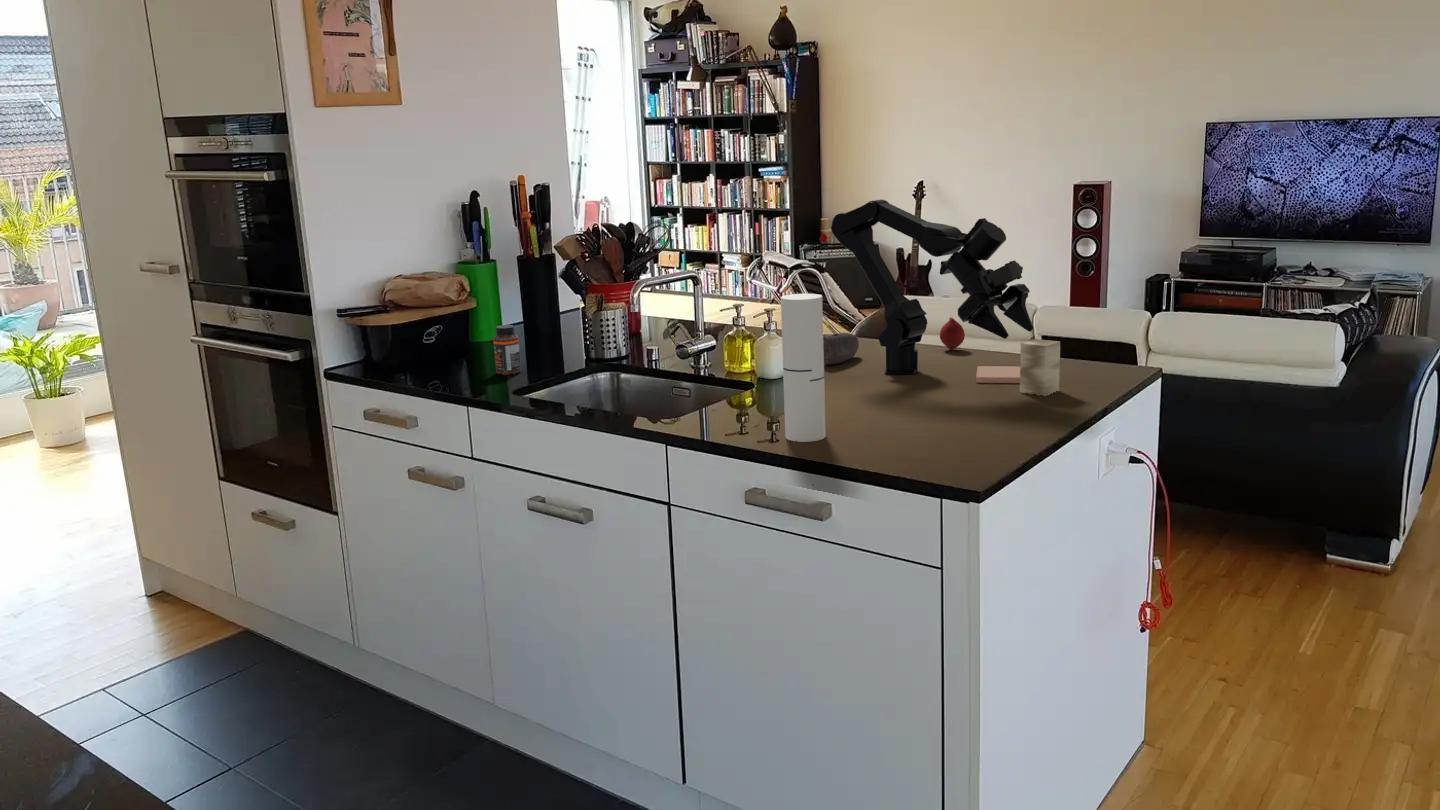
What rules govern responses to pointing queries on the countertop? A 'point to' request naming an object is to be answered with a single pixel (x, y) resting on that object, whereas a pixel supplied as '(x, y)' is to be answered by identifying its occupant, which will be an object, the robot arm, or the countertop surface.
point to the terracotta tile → (998, 374)
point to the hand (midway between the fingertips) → (1019, 333)
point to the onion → (952, 334)
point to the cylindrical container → (803, 367)
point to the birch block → (1039, 367)
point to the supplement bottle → (506, 350)
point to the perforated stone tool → (839, 347)
